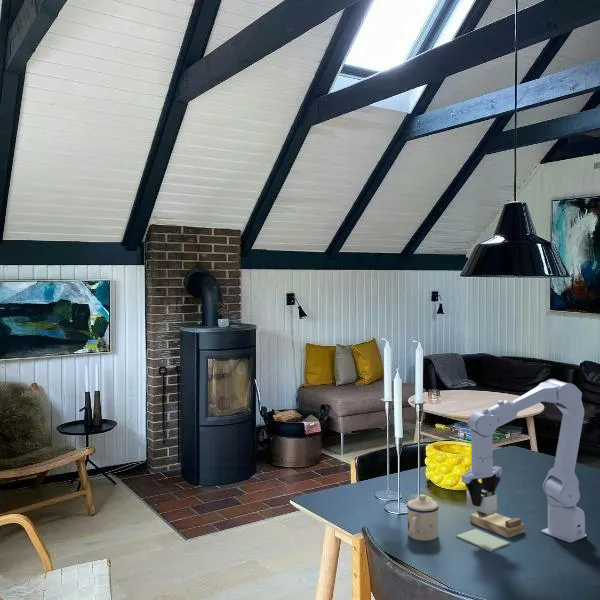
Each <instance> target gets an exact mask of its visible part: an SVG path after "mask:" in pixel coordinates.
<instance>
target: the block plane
mask: <svg viewBox="0 0 600 600" xmlns="http://www.w3.org/2000/svg"><path fill="white" fill-rule="evenodd" d="M469 516H470V517H469V520H470V521H469V522H470V524H473V525H476V526H478V527H480V528H483V529H486V530H487V531H490V532H493V533H496V534H497V535H501V536H503V537H505V538H508V539H509V538H512V537H514V536H517V535H520V534H523V533H525V523H524V522H522V518H519V517H518V516H517V517H514V518H510V517H508V516H504V515H502V514H500V513H497V512H495V511H493V512H490V513H487V514H485V513H483V512H480V511H477V510H476V512H473V513H471V514H469Z"/></svg>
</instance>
